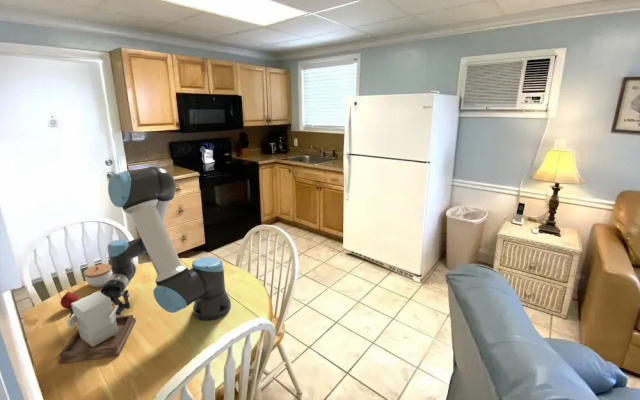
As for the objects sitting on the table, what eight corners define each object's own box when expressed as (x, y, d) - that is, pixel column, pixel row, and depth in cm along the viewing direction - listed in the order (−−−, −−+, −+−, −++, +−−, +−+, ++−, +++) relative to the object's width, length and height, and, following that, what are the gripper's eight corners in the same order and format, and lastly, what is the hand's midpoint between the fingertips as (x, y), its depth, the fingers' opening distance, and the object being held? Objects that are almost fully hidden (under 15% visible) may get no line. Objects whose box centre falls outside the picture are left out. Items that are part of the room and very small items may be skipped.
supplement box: (106, 323, 119) (98, 289, 115) (119, 332, 115) (111, 297, 110) (79, 338, 112) (70, 302, 107) (92, 348, 108) (82, 312, 103)
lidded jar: (88, 293, 142) (83, 275, 139) (86, 282, 149) (82, 265, 146) (115, 284, 148) (111, 267, 145) (112, 275, 156) (108, 258, 153)
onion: (70, 313, 128) (66, 297, 125) (59, 311, 129) (54, 295, 126) (83, 305, 133) (79, 289, 131) (72, 303, 134) (68, 287, 132)
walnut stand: (136, 321, 124) (134, 313, 123) (119, 355, 108) (117, 347, 107) (85, 327, 120) (83, 319, 119) (59, 364, 104) (56, 355, 103)
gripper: (148, 291, 131) (130, 326, 111) (83, 298, 126) (52, 336, 106) (145, 276, 129) (127, 308, 109) (79, 282, 124) (46, 318, 104)
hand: (90, 322), depth 107 cm, fingers closed on supplement box, 12 cm apart
